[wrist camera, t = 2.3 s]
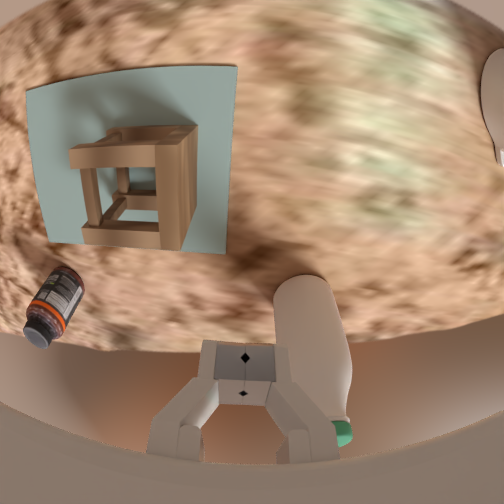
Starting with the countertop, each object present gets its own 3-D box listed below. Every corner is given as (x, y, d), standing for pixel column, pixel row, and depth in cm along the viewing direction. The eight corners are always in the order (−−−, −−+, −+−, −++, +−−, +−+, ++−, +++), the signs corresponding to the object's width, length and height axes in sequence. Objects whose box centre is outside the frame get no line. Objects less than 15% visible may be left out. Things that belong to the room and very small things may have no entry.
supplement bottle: (71, 301, 38) (41, 357, 29) (47, 273, 35) (10, 327, 26) (93, 290, 37) (62, 351, 27) (67, 259, 34) (27, 317, 24)
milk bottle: (261, 290, 36) (267, 446, 20) (315, 262, 34) (357, 421, 17) (290, 324, 40) (306, 461, 23) (340, 300, 38) (378, 439, 21)
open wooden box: (198, 125, 25) (177, 145, 18) (196, 205, 29) (180, 250, 22) (112, 127, 24) (68, 149, 17) (119, 202, 29) (84, 244, 22)
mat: (237, 67, 22) (237, 66, 22) (225, 252, 33) (225, 254, 33) (27, 90, 21) (25, 91, 21) (51, 240, 32) (49, 241, 32)
